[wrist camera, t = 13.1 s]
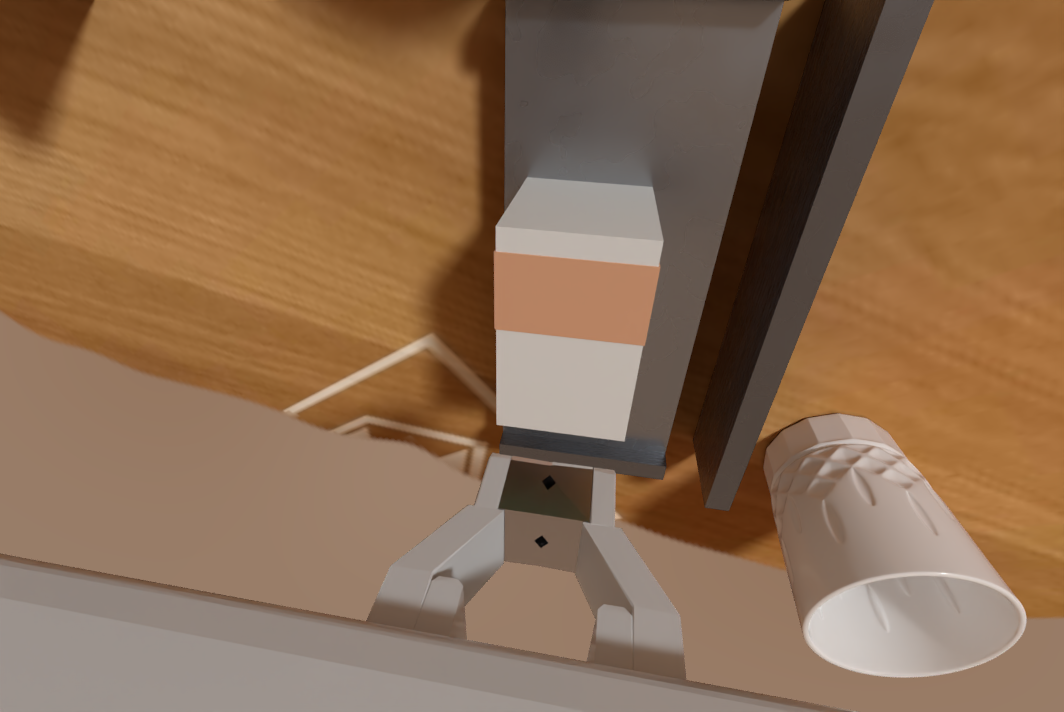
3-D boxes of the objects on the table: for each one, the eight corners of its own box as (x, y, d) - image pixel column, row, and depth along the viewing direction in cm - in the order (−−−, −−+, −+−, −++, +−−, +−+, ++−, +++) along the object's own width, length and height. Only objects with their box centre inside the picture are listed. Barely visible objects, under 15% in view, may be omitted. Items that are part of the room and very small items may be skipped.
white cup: (760, 509, 31) (809, 679, 23) (743, 417, 28) (795, 580, 20) (903, 494, 29) (1014, 677, 21) (905, 391, 25) (1042, 565, 17)
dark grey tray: (511, 416, 30) (493, 477, 26) (519, -39, 18) (488, -59, 14) (713, 442, 29) (728, 511, 25) (871, -28, 17) (952, -46, 13)
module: (521, 345, 24) (494, 426, 19) (525, 177, 20) (493, 226, 15) (624, 356, 24) (625, 443, 19) (654, 187, 19) (665, 241, 14)
